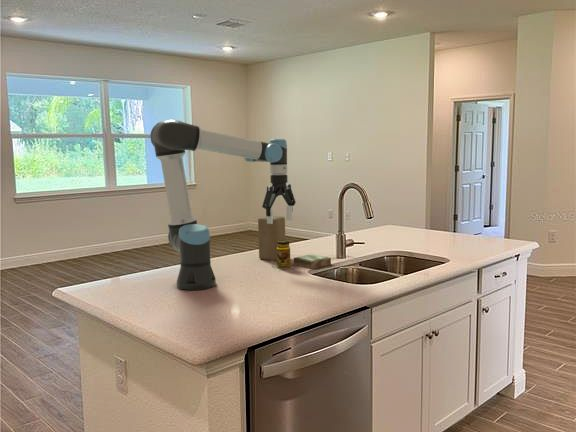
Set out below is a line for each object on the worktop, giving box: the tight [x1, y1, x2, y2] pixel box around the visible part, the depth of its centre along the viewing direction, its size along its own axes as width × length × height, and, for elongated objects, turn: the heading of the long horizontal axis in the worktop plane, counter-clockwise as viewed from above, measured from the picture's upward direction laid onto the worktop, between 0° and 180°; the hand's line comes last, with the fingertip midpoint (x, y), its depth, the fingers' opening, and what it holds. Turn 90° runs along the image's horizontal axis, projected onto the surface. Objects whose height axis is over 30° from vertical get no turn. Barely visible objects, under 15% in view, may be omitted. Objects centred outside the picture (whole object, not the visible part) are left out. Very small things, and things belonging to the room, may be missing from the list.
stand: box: [293, 253, 332, 270], centre depth 234 cm, size 12×12×3 cm
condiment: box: [272, 240, 295, 271], centre depth 229 cm, size 7×8×12 cm
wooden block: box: [257, 215, 286, 262], centre depth 247 cm, size 10×10×20 cm
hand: (279, 221), depth 230 cm, fingers open, 13 cm apart
